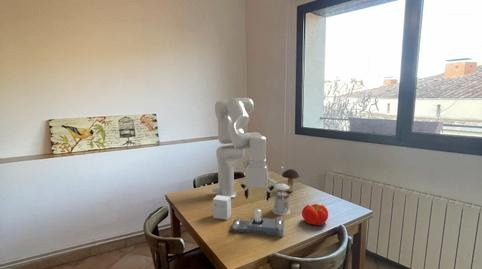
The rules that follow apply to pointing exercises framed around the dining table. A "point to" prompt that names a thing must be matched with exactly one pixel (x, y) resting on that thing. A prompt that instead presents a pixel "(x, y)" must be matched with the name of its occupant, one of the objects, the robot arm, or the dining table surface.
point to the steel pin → (258, 216)
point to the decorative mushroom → (290, 178)
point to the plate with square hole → (259, 227)
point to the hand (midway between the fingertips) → (257, 198)
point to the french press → (281, 204)
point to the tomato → (315, 214)
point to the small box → (222, 207)
